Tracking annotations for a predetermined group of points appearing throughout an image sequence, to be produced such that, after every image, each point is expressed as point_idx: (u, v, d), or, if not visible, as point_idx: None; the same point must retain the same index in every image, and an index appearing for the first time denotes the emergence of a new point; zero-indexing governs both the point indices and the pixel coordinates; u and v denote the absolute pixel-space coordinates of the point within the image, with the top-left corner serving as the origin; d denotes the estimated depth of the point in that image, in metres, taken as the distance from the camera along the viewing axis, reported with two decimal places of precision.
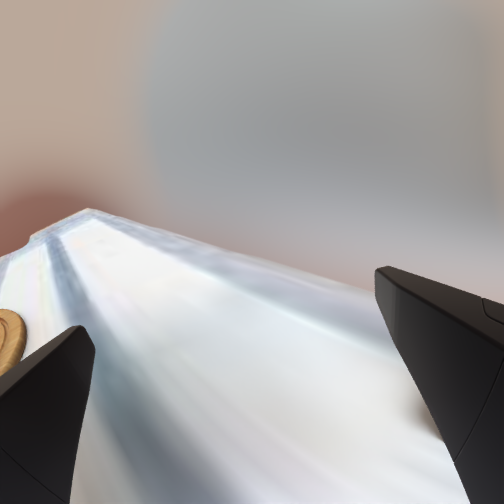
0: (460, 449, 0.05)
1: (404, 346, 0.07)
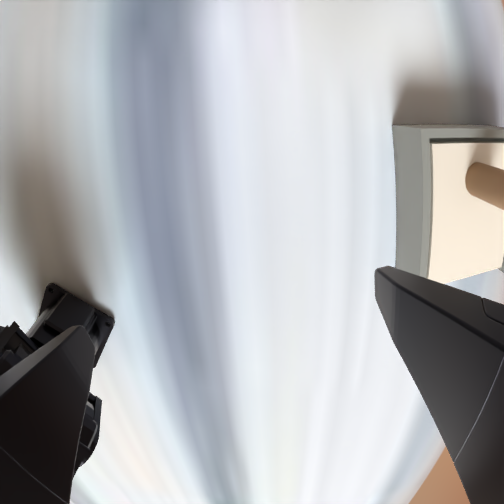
0: (460, 450, 0.05)
1: (404, 346, 0.07)
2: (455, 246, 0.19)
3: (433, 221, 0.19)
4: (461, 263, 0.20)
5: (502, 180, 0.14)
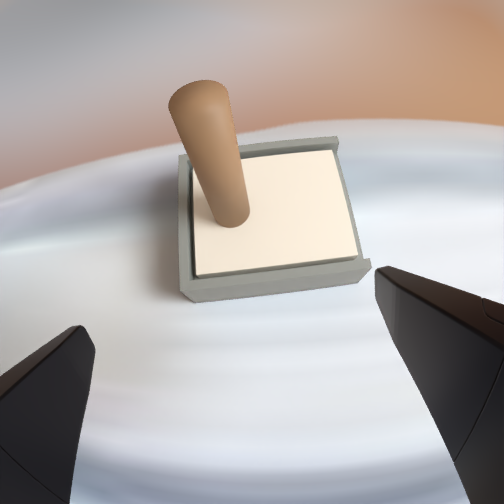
0: (460, 450, 0.05)
1: (404, 346, 0.07)
2: (307, 226, 0.20)
3: (278, 263, 0.20)
4: (328, 212, 0.20)
5: (209, 198, 0.17)
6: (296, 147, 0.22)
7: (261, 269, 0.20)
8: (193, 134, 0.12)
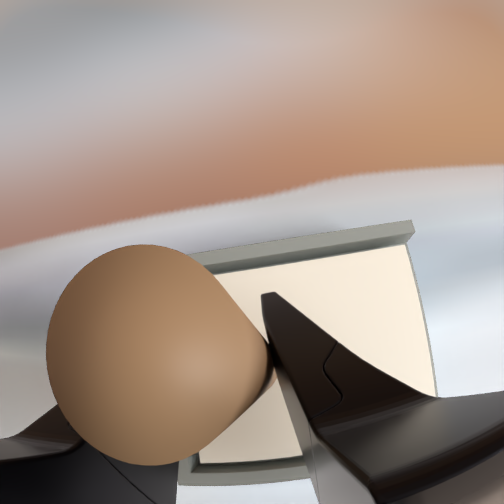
0: (319, 497, 0.05)
1: (278, 378, 0.07)
2: None
3: None
4: (401, 361, 0.12)
5: None
6: (349, 244, 0.14)
7: (297, 453, 0.11)
8: None
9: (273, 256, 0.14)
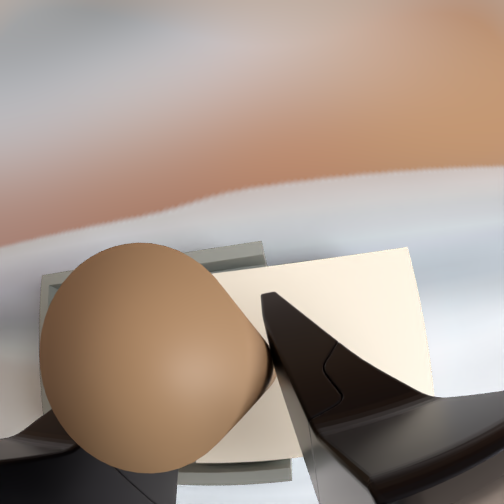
0: (319, 497, 0.05)
1: (278, 378, 0.07)
2: None
3: None
4: (401, 365, 0.11)
5: None
6: None
7: (294, 455, 0.11)
8: None
9: None
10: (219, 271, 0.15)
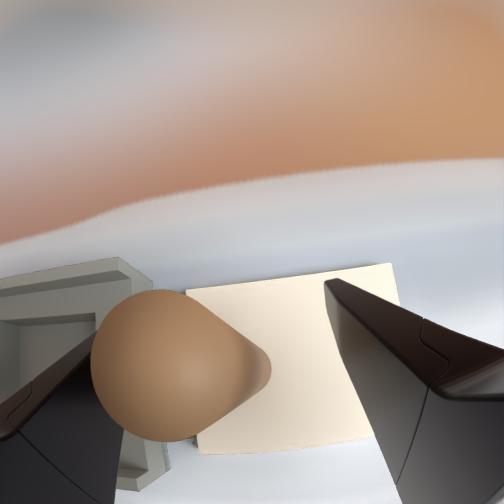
0: (399, 475, 0.05)
1: (348, 362, 0.07)
2: (353, 393, 0.13)
3: (309, 446, 0.12)
4: None
5: None
6: (64, 280, 0.13)
7: (286, 448, 0.13)
8: None
9: (20, 287, 0.14)
10: (93, 284, 0.14)
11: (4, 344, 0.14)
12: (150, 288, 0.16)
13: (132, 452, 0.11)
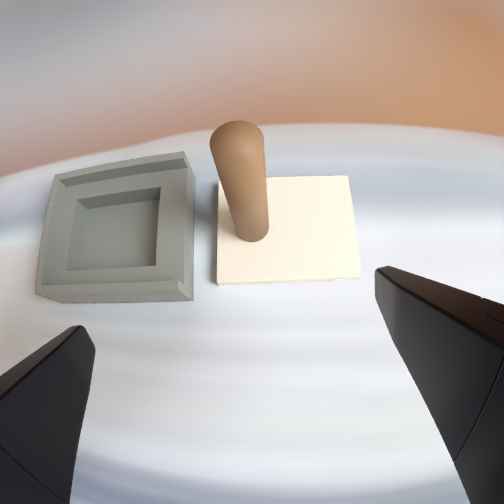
0: (460, 449, 0.05)
1: (404, 346, 0.07)
2: (319, 247, 0.22)
3: (290, 278, 0.22)
4: (338, 235, 0.23)
5: (235, 218, 0.20)
6: (143, 165, 0.22)
7: (274, 282, 0.22)
8: (230, 171, 0.14)
9: (105, 172, 0.23)
10: (160, 171, 0.23)
11: (77, 217, 0.23)
12: (194, 181, 0.26)
13: (174, 272, 0.21)
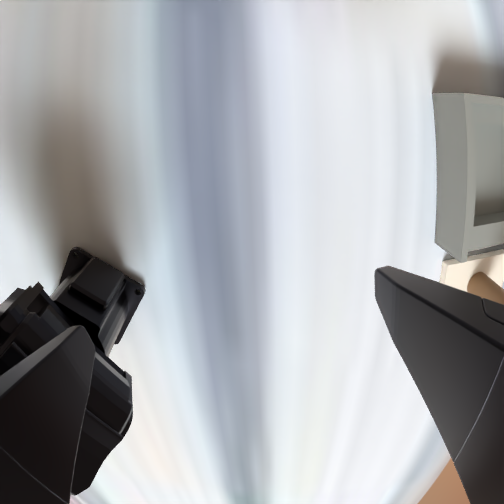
0: (460, 450, 0.05)
1: (404, 346, 0.07)
2: None
3: None
4: None
5: (493, 297, 0.20)
6: None
7: None
8: None
9: None
10: None
11: None
12: None
13: None
